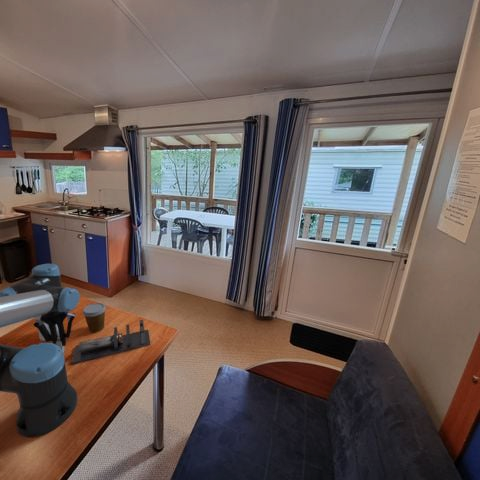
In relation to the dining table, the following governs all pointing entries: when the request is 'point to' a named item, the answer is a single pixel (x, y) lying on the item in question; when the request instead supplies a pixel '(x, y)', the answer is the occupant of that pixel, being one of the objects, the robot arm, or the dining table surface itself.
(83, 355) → the collar rail
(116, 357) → the dining table surface
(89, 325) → the disposable coffee cup
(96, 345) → the tube
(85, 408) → the dining table surface
